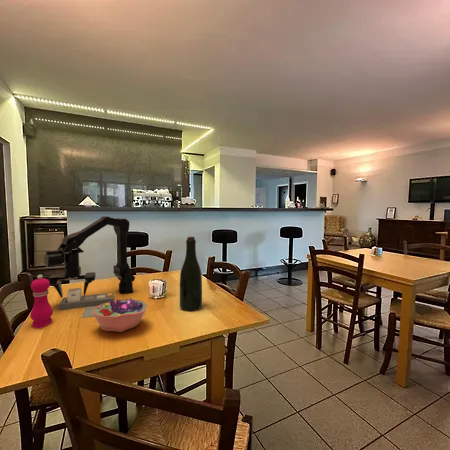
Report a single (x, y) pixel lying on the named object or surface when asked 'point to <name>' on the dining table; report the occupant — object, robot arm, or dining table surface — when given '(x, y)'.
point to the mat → (88, 312)
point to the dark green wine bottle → (190, 279)
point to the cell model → (120, 314)
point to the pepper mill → (41, 303)
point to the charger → (74, 295)
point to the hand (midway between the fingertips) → (73, 296)
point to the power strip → (87, 301)
